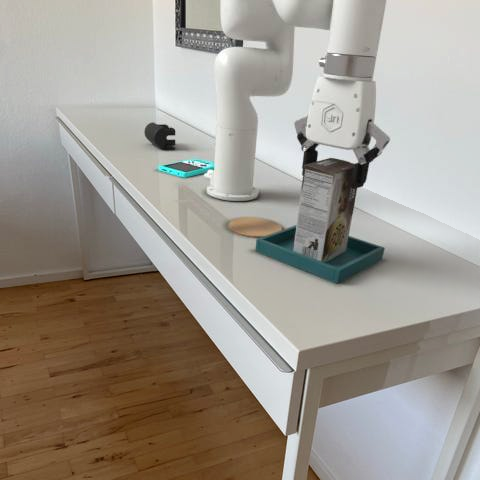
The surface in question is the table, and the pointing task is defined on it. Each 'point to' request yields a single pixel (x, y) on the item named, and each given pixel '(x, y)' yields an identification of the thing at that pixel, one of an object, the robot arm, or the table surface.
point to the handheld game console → (187, 167)
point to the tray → (333, 270)
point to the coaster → (254, 227)
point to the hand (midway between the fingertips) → (332, 180)
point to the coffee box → (325, 209)
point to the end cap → (160, 135)
